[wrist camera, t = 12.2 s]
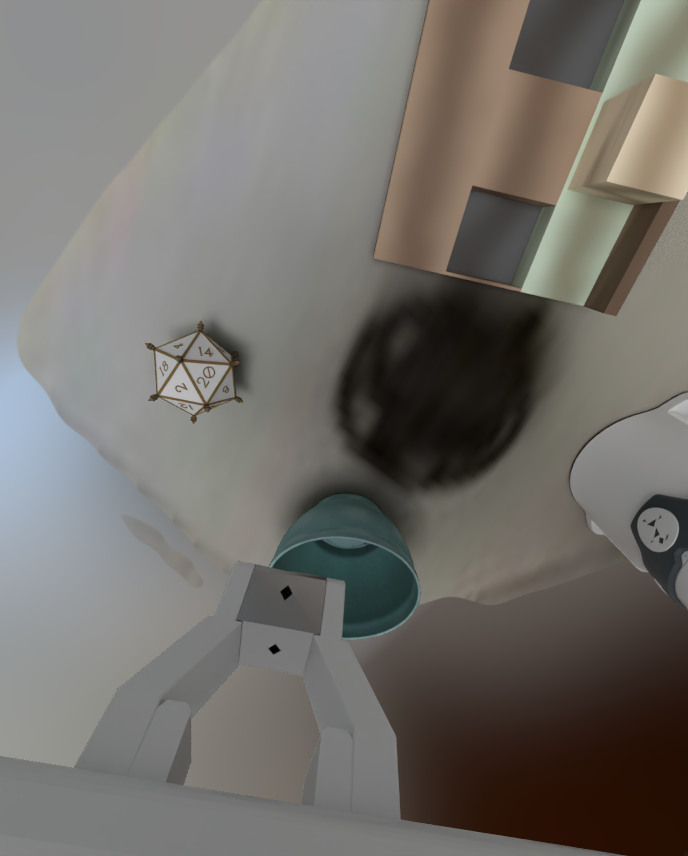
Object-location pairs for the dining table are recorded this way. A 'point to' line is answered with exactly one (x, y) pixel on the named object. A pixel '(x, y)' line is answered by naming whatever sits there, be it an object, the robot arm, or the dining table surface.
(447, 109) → the box
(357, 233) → the dining table surface
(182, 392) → the game die
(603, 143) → the maple block
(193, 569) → the dining table surface
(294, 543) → the flower pot
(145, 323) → the dining table surface
